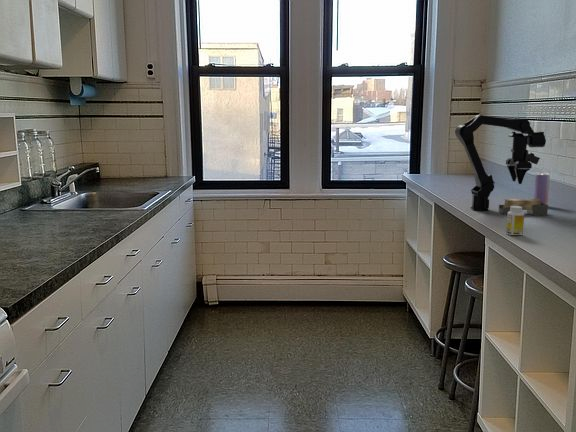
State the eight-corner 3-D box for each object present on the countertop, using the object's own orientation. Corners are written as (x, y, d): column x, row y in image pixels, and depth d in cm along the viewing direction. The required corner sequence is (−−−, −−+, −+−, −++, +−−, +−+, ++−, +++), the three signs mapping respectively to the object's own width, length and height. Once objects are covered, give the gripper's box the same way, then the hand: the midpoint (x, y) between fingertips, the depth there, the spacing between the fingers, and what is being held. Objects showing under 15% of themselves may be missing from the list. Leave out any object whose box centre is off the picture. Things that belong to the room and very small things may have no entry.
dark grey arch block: (503, 214, 246) (503, 207, 245) (498, 211, 253) (499, 204, 253) (512, 215, 246) (513, 207, 245) (507, 211, 253) (508, 204, 252)
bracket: (532, 215, 245) (533, 204, 244) (526, 212, 252) (527, 202, 251) (547, 215, 244) (547, 205, 243) (541, 212, 252) (542, 202, 251)
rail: (507, 209, 247) (508, 200, 246) (504, 208, 251) (505, 199, 250) (540, 209, 246) (541, 200, 245) (537, 208, 250) (538, 199, 249)
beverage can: (539, 207, 264) (541, 174, 261) (530, 205, 270) (532, 173, 267) (550, 206, 266) (552, 174, 263) (541, 204, 271) (543, 172, 269)
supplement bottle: (525, 234, 208) (527, 206, 206) (519, 237, 204) (521, 208, 202) (509, 232, 212) (511, 204, 210) (503, 234, 208) (505, 206, 206)
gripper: (545, 149, 244) (542, 185, 247) (531, 146, 263) (529, 180, 266) (518, 148, 246) (515, 185, 248) (506, 146, 264) (504, 180, 267)
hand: (517, 182), depth 257 cm, fingers open, 9 cm apart
